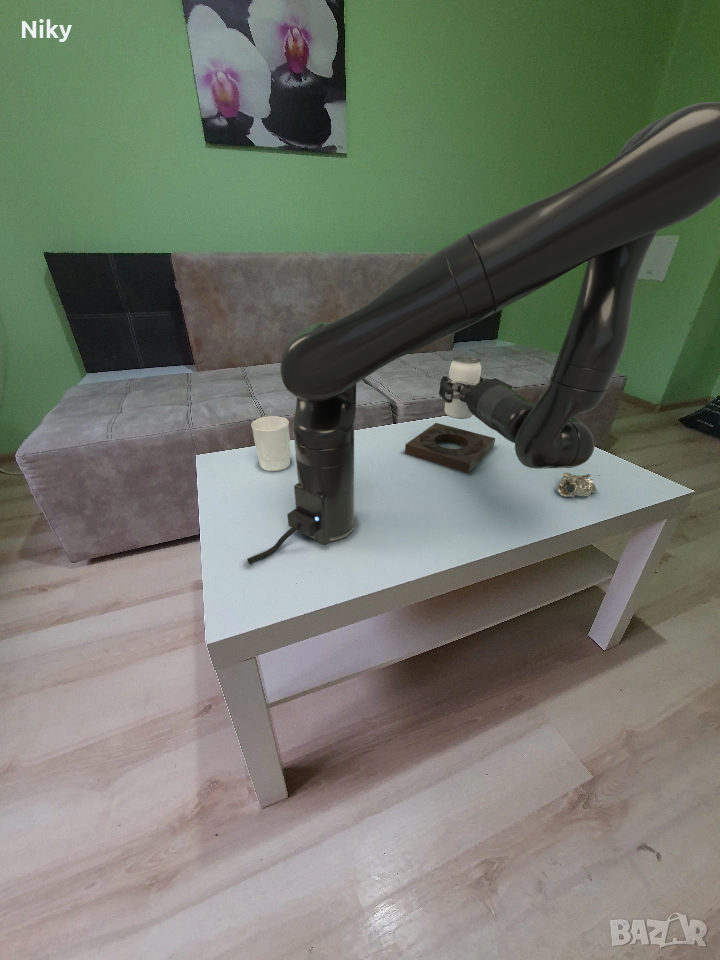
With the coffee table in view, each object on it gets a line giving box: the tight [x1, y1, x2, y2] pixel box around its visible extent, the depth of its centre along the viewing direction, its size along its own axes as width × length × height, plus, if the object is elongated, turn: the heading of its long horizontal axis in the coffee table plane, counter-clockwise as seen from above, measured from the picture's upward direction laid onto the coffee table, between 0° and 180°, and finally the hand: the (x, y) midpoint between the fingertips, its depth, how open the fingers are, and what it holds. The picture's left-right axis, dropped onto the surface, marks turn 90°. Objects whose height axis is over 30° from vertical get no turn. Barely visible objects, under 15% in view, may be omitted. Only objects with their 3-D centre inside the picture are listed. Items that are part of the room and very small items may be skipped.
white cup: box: [250, 415, 291, 472], centre depth 85 cm, size 8×8×10 cm
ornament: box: [557, 472, 598, 498], centre depth 77 cm, size 8×7×4 cm
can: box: [444, 355, 482, 420], centre depth 83 cm, size 6×6×12 cm
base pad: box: [404, 422, 496, 474], centre depth 93 cm, size 16×16×2 cm
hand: (458, 379), depth 84 cm, fingers closed on can, 6 cm apart
